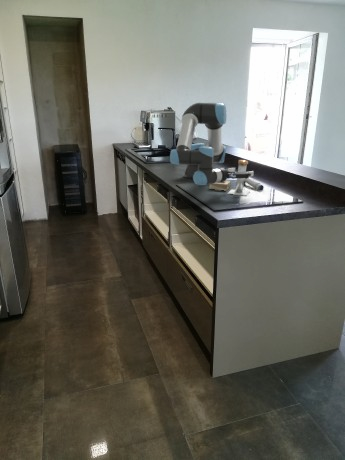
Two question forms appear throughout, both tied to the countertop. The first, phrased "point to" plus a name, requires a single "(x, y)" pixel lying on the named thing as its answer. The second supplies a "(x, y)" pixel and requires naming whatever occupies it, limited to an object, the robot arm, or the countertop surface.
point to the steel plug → (241, 180)
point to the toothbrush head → (254, 184)
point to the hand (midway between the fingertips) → (243, 171)
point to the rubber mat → (238, 193)
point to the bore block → (221, 185)
